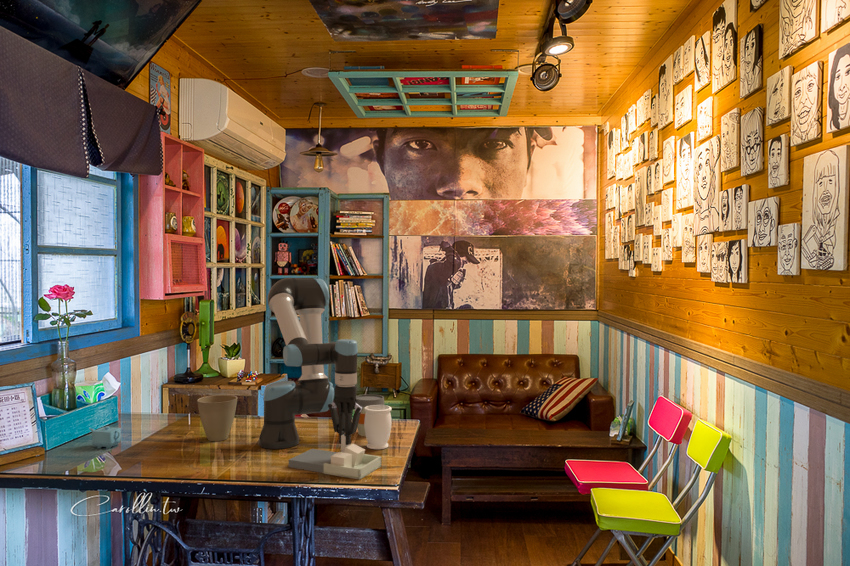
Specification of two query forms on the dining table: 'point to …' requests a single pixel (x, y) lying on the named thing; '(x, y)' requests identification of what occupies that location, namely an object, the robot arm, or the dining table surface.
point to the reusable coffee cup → (365, 401)
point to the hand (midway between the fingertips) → (344, 453)
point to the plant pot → (217, 415)
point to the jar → (377, 426)
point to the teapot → (106, 437)
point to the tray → (355, 468)
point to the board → (312, 460)
